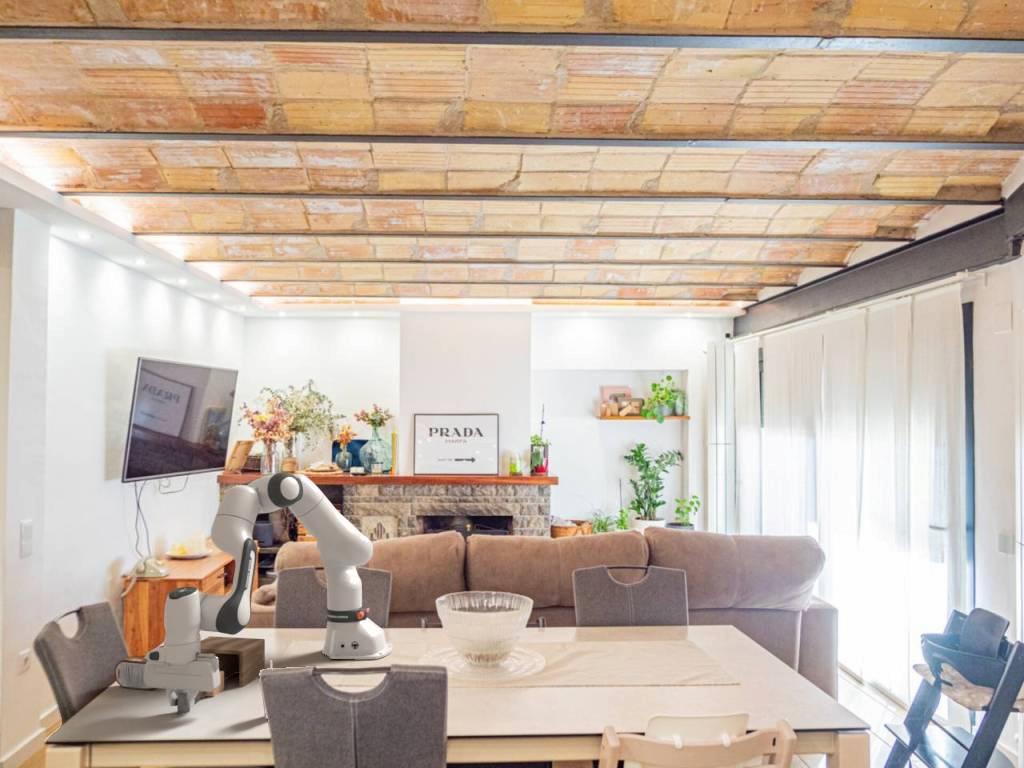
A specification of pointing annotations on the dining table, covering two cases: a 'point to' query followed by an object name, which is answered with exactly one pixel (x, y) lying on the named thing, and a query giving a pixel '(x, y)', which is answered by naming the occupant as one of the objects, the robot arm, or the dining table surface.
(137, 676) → the tin
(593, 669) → the dining table surface
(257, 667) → the shelf unit
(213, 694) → the pull block
